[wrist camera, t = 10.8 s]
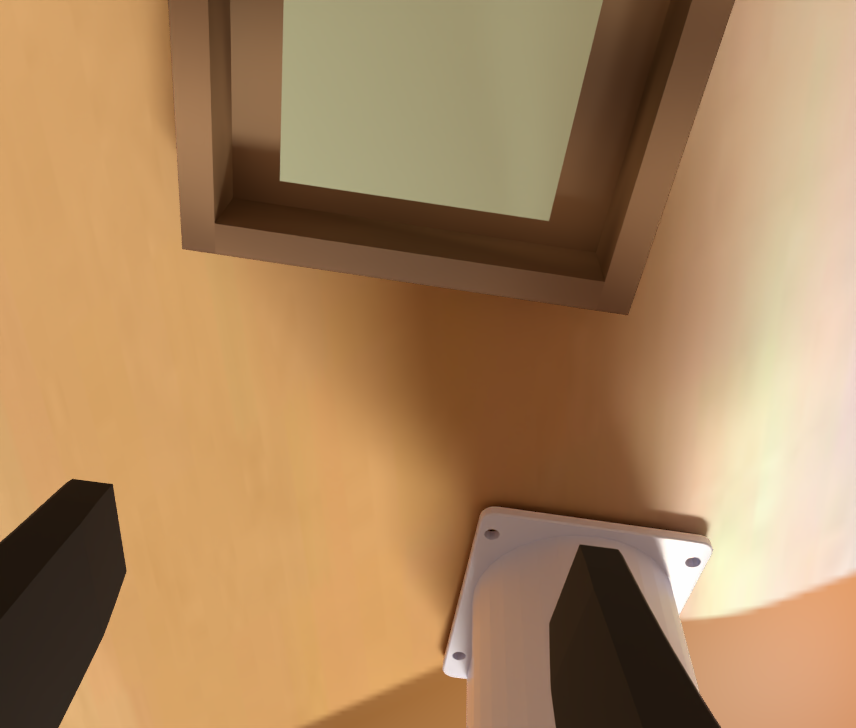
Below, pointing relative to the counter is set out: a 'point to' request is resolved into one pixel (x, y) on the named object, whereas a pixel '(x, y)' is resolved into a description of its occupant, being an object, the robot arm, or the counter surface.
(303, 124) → the sage block
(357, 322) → the counter surface
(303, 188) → the walnut tray
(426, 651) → the counter surface
